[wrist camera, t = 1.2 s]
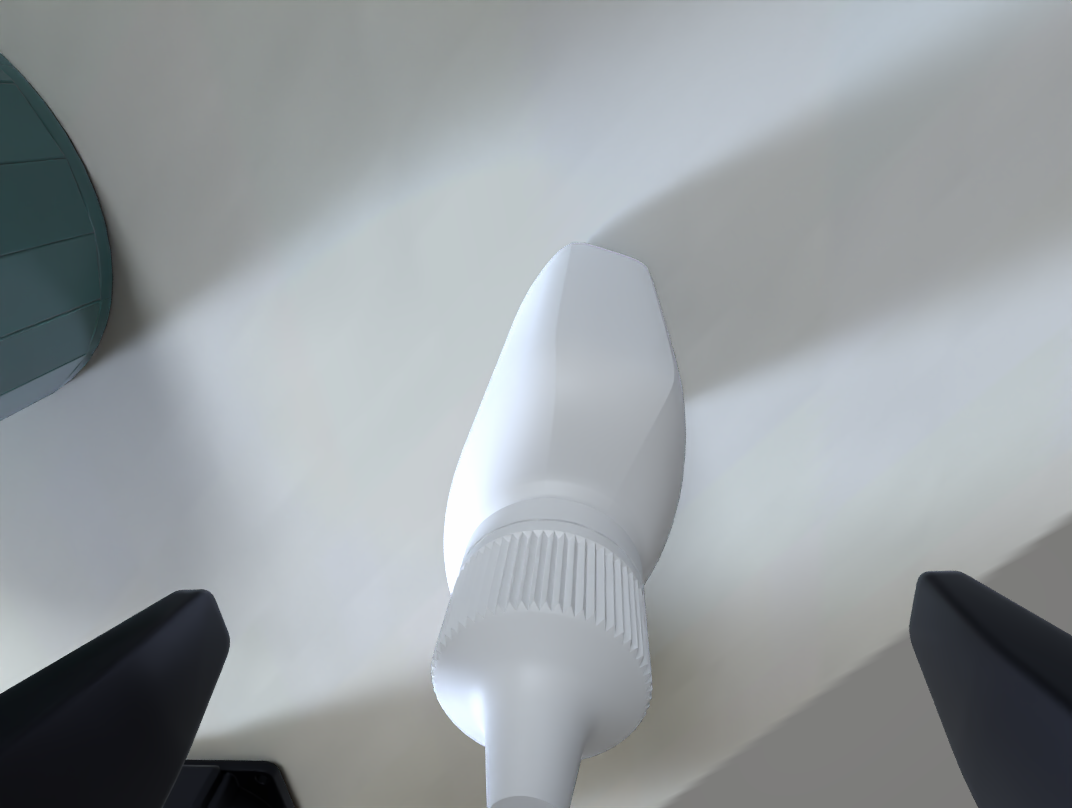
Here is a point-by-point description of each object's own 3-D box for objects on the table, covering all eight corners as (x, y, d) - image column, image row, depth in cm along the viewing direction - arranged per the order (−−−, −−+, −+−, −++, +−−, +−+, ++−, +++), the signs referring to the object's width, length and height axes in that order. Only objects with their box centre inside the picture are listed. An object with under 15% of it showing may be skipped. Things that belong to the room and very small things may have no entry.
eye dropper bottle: (716, 339, 16) (959, 829, 5) (554, 467, 18) (486, 1014, 7) (598, 208, 15) (595, 483, 4) (441, 360, 17) (158, 813, 6)
